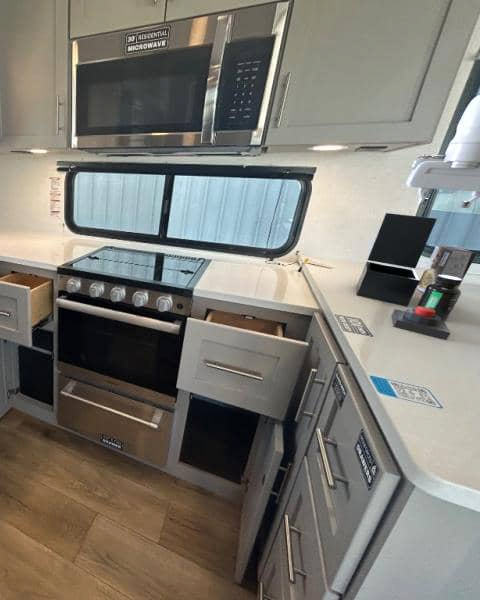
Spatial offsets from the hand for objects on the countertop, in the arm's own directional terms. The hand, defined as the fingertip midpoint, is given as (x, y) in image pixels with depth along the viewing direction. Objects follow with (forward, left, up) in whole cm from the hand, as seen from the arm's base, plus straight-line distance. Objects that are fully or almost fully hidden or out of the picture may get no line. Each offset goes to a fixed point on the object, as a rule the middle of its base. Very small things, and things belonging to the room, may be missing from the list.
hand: (442, 206), depth 98 cm
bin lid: (+5, -6, -12) cm, 15 cm away
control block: (-2, +29, -30) cm, 41 cm away
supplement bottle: (-6, +15, -30) cm, 34 cm away
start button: (-2, +29, -26) cm, 39 cm away
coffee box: (-10, -15, -30) cm, 35 cm away
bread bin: (+5, +3, -30) cm, 30 cm away
